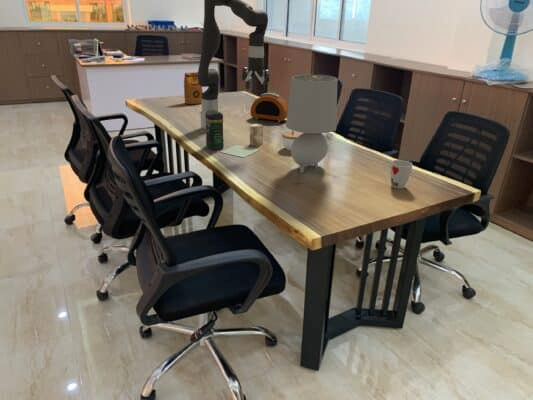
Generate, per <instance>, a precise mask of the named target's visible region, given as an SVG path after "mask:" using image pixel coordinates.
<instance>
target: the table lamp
mask: <svg viewBox="0 0 533 400" xmlns="http://www.w3.org/2000/svg"><path fill="white" fill-rule="evenodd" d="M290 82H291V83H290V88H289V89H290V90H289V98H288V104H287V105H288V113H287V118H286V123H285V127H286V128H287V129H289V130H291V131H295V132H300V133H302V134H301V135H300V136H298V137H297V138H296V139H295V140H294V142H293V144H292V147H291V151H290V154H291V157H292V159H293V161H294V162H295V164H297V165H298V166H299V172H300V174H302V173H304V172H305V167H307V166H308V167H309V166H313V167H314V168H318V164H319V163H320V162H321V161H322V160H323V159H325V158H326V156H327V154H328V150H329V143H328V140H327V138H326V136H325V135H324V134H326V133H327V134H328V133H332V132H335V131H336V130H337V113H338V111H337V106H338V77H337V78H336V77H335V76H330V75H324V74H323V75H322V74H296V75H293V76H292V77H291V81H290Z"/></svg>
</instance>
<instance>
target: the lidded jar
mask: <svg viewBox="0 0 533 400" xmlns="http://www.w3.org/2000/svg"><path fill="white" fill-rule="evenodd" d="M301 134H303V133H302V132H297V131H293V130H291V131H283V132H282V134H281V136H282V137H281V141H282V144H283V146H284V148H285V150H286V151H290V152H291V147H292V144H293V142H294V140H295V139H296V138H297V137H298V136H300V135H301Z"/></svg>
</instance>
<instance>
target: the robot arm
mask: <svg viewBox="0 0 533 400" xmlns="http://www.w3.org/2000/svg"><path fill="white" fill-rule="evenodd" d="M222 6H224V7H227V8H230V11H231V12H232V13H233V14H234V15H235V16H236V17H238V18H240V19H241V20H242V21H243V22H244V23H245V25H247V26H248V27H250V28H251V27H253V28H255V30H254V31H251V32H250V33H249V35H248V50H247V51H248V54H247V55H248V56H247V57H248V58H247V65H248V66H246V67H243V68H242V75H241V77H242V78H241V79H242V80H243V81H245V88H246V89H245V90H246V91H247V90H251V89H250V88H251V79H252V78H253V79H258V80H259V82H260V83H261V84H260V92H261V93H264V92H265V91H266V84H269V83H270V70H269V69H264V65H265V48H264V47H265V34H266V31H267V27H268V23H269V16H268V14H267V12H266V11H265V10H264V9H253V6H251V5H250V4H248V3H246V2H245V1H243V0H204V6H203V7H204V10H203V11H204V13H203V17H204V18H203V28H202V29H203V30H202V35H201V36H202V37H201V50H200V59H199V64H198V70H197V72H198V83H199V85H200V86H201V87H202V88H206V87H207V89H206V90H204V91H203V93H202V94H201V100H202V103H201V111H200V127H201V129H203V130H205V131H206V119H205V115H206V112H207V111H208V110H216V111H218V112H219V93H220V75H219V72H218V70H217V69H215V68H210V65H211V62H212V60H213V58H214V57H215V55H216V53H217V52H218V50H219V48H220V43H221V31H220V28H219V26H218V23H217V21H216V17H215V12H216V11H215V9H216V7H222Z"/></svg>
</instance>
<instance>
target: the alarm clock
mask: <svg viewBox="0 0 533 400" xmlns="http://www.w3.org/2000/svg"><path fill="white" fill-rule="evenodd" d="M288 105H289V104H288V103H287V102H286V100H285V99H284V98H283V97H281V95H280V94H277V93H273V92H265V93H264V92H263V93H262V94H260V97H257V98H256V99H255V100H254V101H253V103H252V104H251V107H250V116H251V117H252V118H254V119H255V120H258V119H262V120H263V119H264V120H273V121H277V122H278V123H280V122H283V121H284V120H287V113H288Z"/></svg>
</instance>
